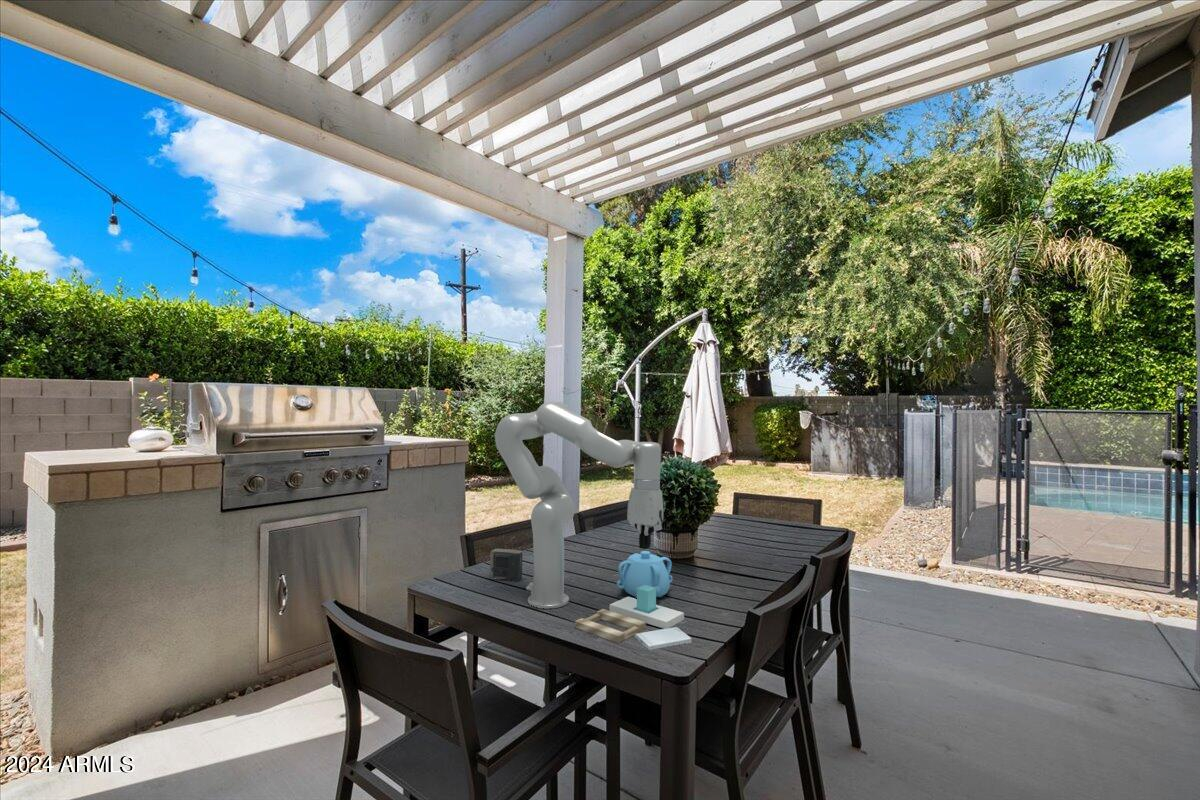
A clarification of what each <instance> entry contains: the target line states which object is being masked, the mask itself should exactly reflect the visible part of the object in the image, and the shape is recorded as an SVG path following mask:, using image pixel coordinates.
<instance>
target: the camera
mask: <svg viewBox="0 0 1200 800" xmlns="http://www.w3.org/2000/svg"><path fill="white" fill-rule="evenodd" d="M489 553H490V554H489V555H490V556H489V558H490V559H489V573H488V574H489V578H490V579H491V578H496V579H495V580H500V579H508V580H507V581H511V580H517V581H516V582H520V581H521V580H523V551H522V550H516V549H509V548H507V549H505V548H494V549H492V550H491V551H490V552H489ZM520 579H521V580H520Z"/></svg>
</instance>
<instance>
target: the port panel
mask: <svg viewBox="0 0 1200 800" xmlns="http://www.w3.org/2000/svg"><path fill="white" fill-rule="evenodd" d="M608 611H612V612H615V613H618V614H621V615H624V616H627V617H630V618H634V619H637V620H640V621H643V622H646V624H649V625H651V626H653V627H654V626H655V627H658V628H660V629H667V628H673V627H675V625H677V624H679V623H681V622H683V621H684V620H685V613H684V612H683V611H681V610H680V611H678V610H676V609H672V608H668V607H666V606H662V605H658V604H656V610H655V611H653V612H651V613H649V614H648V613H645V612H641V611H638V610H637V599H636V597H631V596H626V597H624V598H622V599H619V600H616V601H614V602H613V603H610V604H609V610H608Z"/></svg>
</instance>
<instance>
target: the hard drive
mask: <svg viewBox="0 0 1200 800" xmlns="http://www.w3.org/2000/svg"><path fill="white" fill-rule="evenodd" d="M634 638H635V639H636V640H637V641H638V642H639V643H641V645H643V647H645V648H646V649H647V650H648V651H651V650H656V649H662V647H663V648H667V647H668V646H669V647H673V645H674V646H679V644H680V645H684V643H686V644H689V643H690V644H691V643H692V642H693V640H692V638H691V637H690V635H688V634H687V633H685V632H684V630H681V629H680V628H679V627H677V626H672V627H670V628H667V629H663V628H660V629H655V630H652V631H651V630H650V631H645V632H639V633H637V634H635V635H634Z"/></svg>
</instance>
